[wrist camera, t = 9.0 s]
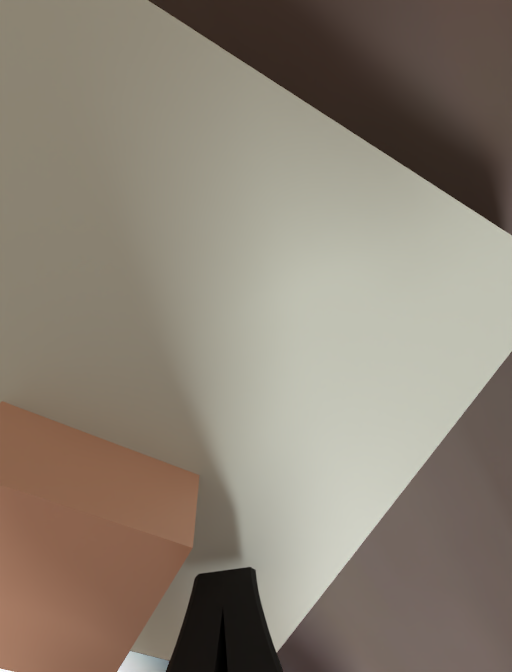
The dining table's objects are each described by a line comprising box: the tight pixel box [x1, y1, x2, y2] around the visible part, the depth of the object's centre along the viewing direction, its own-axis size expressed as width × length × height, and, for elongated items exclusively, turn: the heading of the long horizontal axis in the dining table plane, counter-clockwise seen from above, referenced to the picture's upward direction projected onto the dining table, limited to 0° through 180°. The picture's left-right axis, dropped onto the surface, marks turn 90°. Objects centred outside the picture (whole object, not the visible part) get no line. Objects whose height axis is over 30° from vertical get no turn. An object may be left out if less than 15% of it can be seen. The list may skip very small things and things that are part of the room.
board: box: [0, 0, 512, 661], centre depth 9 cm, size 14×14×2 cm
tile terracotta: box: [0, 401, 200, 672], centre depth 8 cm, size 4×4×2 cm
